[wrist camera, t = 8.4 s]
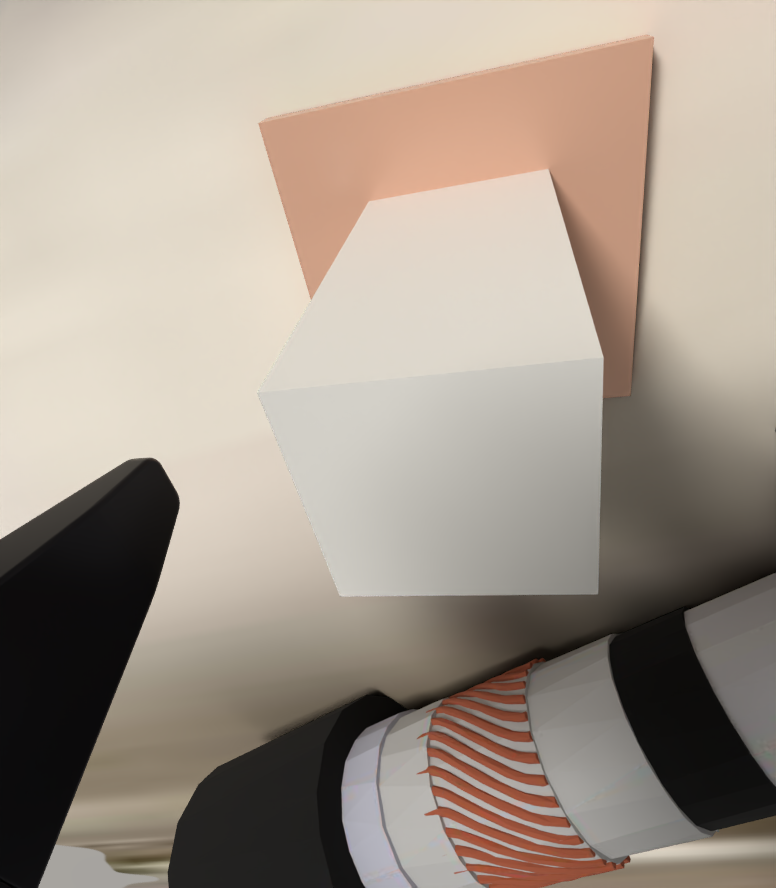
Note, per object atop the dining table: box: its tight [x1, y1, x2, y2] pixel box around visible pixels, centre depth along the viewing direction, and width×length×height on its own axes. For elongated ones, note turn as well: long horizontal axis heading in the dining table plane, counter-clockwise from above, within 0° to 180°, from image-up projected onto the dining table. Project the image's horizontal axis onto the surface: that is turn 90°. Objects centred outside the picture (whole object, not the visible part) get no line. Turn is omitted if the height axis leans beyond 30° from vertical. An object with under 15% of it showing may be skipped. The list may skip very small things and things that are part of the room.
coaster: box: [258, 35, 654, 398], centre depth 14 cm, size 8×8×1 cm
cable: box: [168, 573, 776, 888], centre depth 22 cm, size 10×34×10 cm, turn 133°
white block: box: [257, 169, 604, 596], centre depth 11 cm, size 4×4×8 cm
